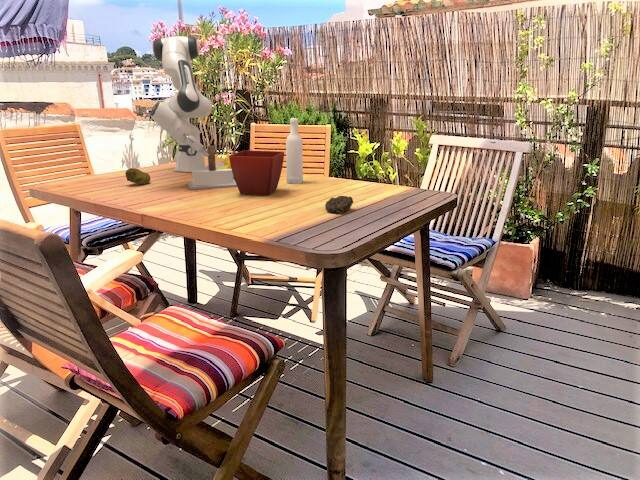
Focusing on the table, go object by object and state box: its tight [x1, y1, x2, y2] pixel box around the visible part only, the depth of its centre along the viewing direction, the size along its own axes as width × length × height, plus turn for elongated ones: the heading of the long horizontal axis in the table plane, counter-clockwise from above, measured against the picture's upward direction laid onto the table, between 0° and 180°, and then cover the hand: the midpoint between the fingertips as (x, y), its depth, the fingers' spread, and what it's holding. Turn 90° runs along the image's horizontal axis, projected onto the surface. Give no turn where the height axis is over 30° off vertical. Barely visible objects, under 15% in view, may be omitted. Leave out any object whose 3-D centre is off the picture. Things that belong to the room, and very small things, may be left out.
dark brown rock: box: [324, 195, 354, 215], centre depth 195 cm, size 12×10×5 cm
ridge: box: [186, 169, 238, 191], centre depth 243 cm, size 14×22×7 cm, turn 110°
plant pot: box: [228, 149, 285, 196], centre depth 226 cm, size 19×19×17 cm
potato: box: [125, 167, 151, 186], centre depth 245 cm, size 8×13×8 cm, turn 136°
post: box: [206, 145, 216, 171], centre depth 241 cm, size 3×3×11 cm
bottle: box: [285, 117, 304, 185], centre depth 248 cm, size 8×8×30 cm
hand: (206, 154), depth 239 cm, fingers open, 8 cm apart
